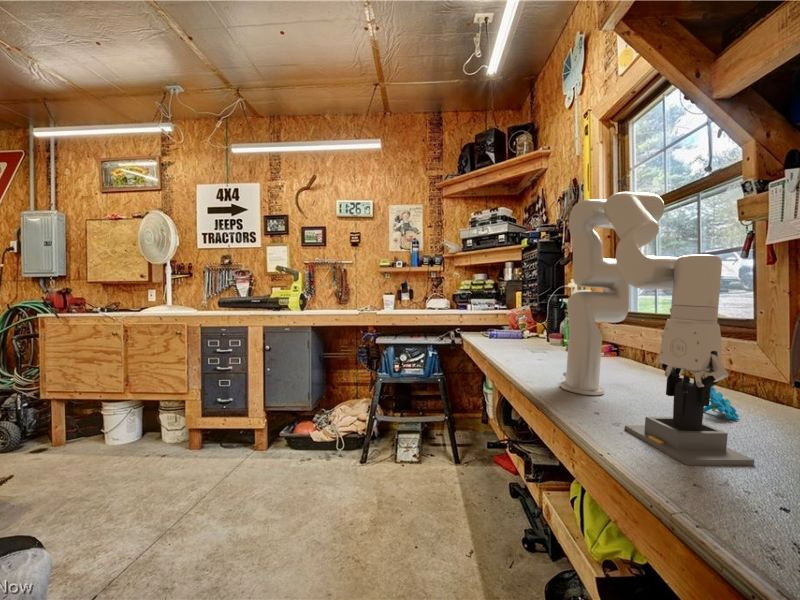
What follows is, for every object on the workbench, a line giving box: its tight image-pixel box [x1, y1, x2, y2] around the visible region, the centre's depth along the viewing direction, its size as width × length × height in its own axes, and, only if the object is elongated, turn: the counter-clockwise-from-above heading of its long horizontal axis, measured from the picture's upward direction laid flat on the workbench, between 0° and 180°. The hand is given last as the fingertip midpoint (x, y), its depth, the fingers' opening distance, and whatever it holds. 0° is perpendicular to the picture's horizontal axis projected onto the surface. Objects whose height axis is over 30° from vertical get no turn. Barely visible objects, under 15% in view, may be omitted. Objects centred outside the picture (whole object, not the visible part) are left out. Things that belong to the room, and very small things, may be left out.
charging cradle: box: [624, 416, 755, 466], centre depth 74 cm, size 16×14×4 cm
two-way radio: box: [672, 374, 705, 431], centre depth 74 cm, size 6×4×15 cm
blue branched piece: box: [703, 387, 740, 421], centre depth 95 cm, size 11×6×10 cm
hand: (686, 399), depth 74 cm, fingers closed on two-way radio, 5 cm apart
